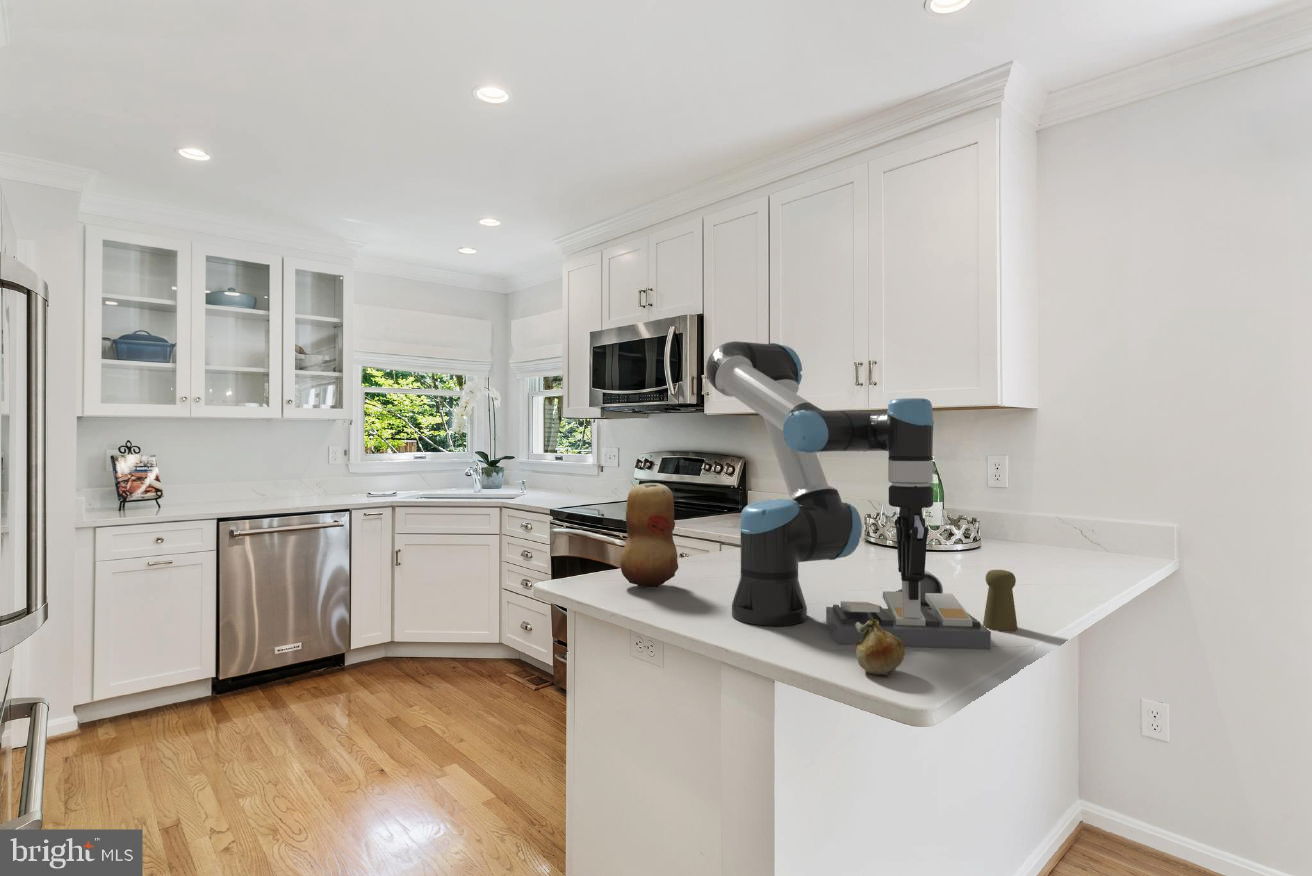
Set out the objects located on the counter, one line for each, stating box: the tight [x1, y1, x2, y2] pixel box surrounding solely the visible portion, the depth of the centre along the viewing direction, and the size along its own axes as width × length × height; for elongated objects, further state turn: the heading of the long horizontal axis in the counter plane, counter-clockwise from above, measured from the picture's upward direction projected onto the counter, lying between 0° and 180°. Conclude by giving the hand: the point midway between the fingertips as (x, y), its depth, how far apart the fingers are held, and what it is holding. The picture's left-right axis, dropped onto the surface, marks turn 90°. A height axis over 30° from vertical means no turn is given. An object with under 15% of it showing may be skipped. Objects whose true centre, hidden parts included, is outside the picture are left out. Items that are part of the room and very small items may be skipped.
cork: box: [982, 569, 1018, 633], centre depth 132 cm, size 6×6×11 cm
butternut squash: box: [620, 482, 679, 588], centre depth 165 cm, size 14×13×25 cm
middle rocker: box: [882, 590, 926, 626], centre depth 127 cm, size 5×11×1 cm, turn 174°
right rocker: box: [925, 592, 973, 626], centre depth 126 cm, size 5×11×1 cm, turn 174°
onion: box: [855, 619, 906, 676], centre depth 107 cm, size 8×8×8 cm
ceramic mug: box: [894, 570, 944, 610], centre depth 150 cm, size 11×8×8 cm
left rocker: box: [839, 600, 880, 612], centre depth 128 cm, size 5×11×1 cm, turn 174°
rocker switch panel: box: [825, 604, 992, 650], centre depth 127 cm, size 26×14×4 cm, turn 84°
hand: (911, 616), depth 122 cm, fingers closed, pressing on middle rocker
